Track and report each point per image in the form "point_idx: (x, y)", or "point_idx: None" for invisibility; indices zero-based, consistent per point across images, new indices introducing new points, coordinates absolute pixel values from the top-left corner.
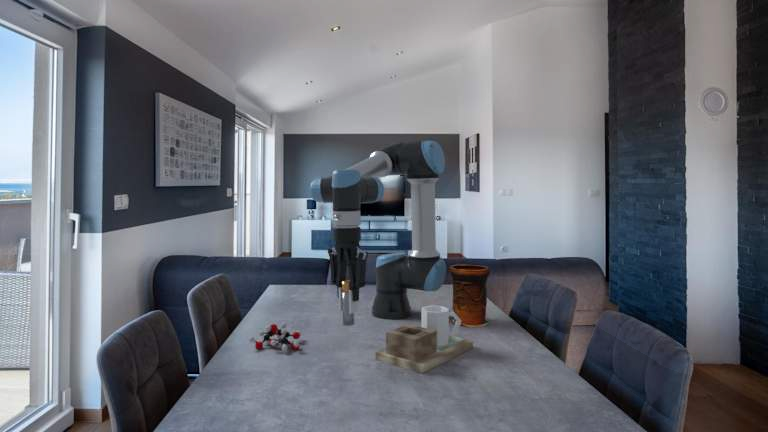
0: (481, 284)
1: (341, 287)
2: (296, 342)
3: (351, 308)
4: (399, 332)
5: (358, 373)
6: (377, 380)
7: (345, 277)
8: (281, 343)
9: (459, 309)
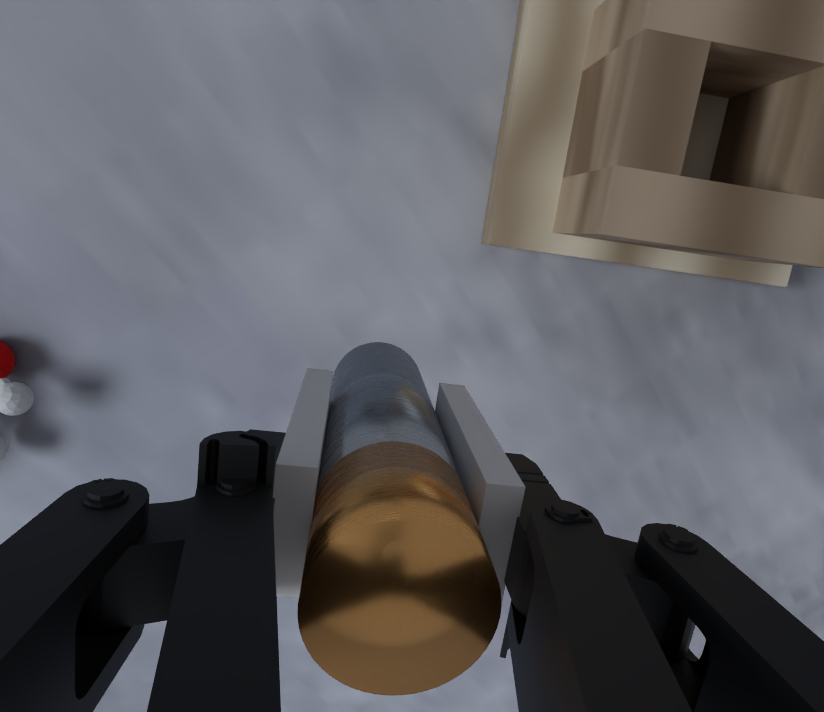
0: None
1: (290, 563)
2: (15, 409)
3: None
4: (687, 189)
5: (507, 436)
6: (616, 450)
7: (273, 560)
8: None
9: None
